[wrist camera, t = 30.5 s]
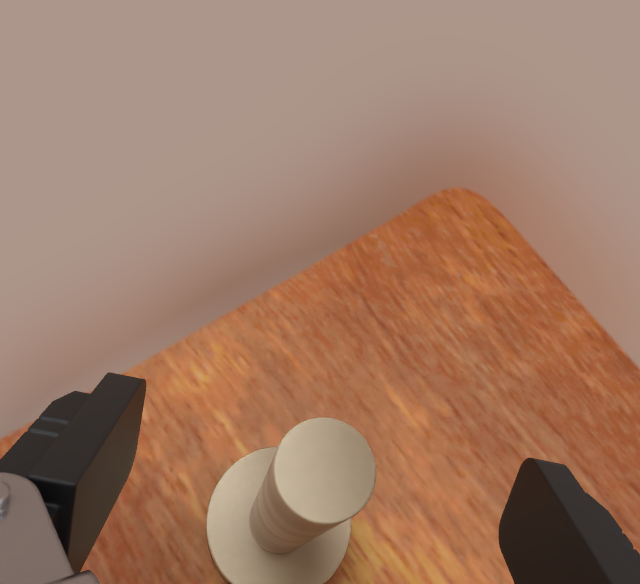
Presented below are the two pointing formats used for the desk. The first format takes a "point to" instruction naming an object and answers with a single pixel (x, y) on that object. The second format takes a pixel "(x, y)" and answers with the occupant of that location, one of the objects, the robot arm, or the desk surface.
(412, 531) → the desk surface
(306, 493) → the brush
